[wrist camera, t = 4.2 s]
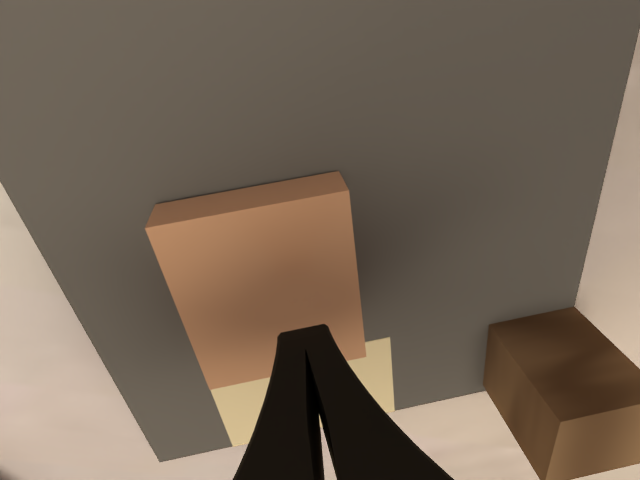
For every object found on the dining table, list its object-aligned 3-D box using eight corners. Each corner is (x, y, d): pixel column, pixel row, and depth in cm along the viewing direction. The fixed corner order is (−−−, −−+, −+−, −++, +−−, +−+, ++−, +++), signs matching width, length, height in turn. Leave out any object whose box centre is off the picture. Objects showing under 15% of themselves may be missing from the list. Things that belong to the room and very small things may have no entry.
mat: (657, -99, 12) (671, -102, 11) (553, 368, 22) (558, 375, 21) (-85, 12, 11) (-97, 12, 10) (161, 454, 20) (159, 462, 20)
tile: (349, 190, 12) (145, 228, 12) (366, 356, 16) (209, 389, 16) (338, 169, 14) (156, 202, 14) (356, 325, 18) (212, 355, 17)
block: (574, 306, 19) (669, 397, 15) (559, 367, 21) (639, 463, 17) (489, 324, 19) (560, 422, 14) (482, 384, 21) (543, 485, 17)
